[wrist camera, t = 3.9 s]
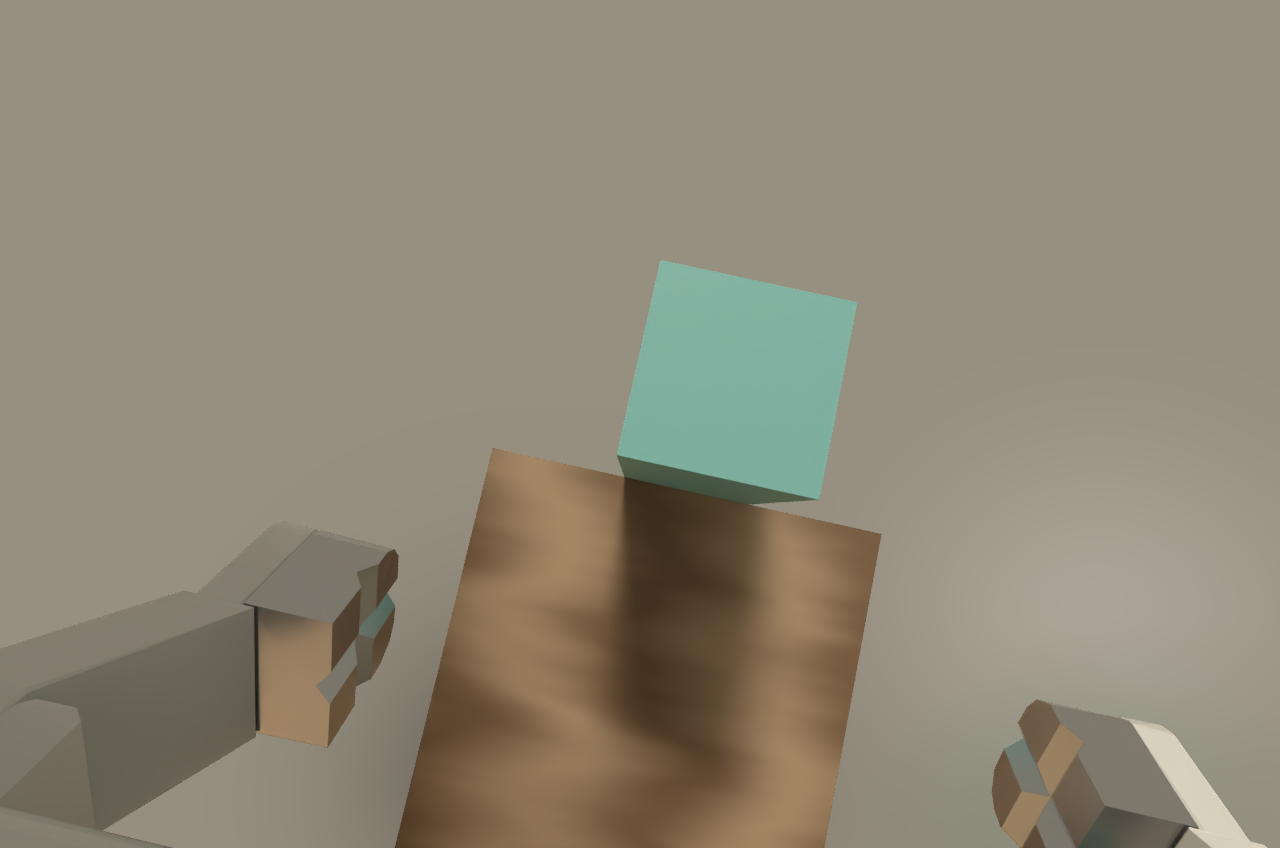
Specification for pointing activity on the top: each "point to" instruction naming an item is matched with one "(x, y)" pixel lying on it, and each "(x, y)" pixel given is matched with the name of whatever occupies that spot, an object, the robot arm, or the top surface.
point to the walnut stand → (639, 670)
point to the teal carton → (735, 387)
